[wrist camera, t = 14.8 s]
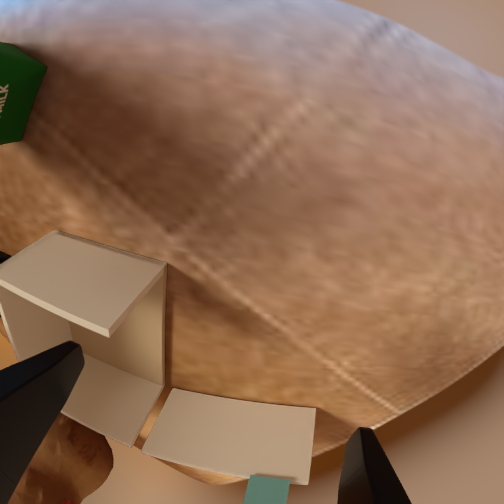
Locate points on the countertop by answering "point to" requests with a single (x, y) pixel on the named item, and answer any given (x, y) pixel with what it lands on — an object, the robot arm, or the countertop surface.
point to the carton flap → (237, 441)
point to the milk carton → (17, 90)
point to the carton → (92, 325)
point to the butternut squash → (65, 465)
